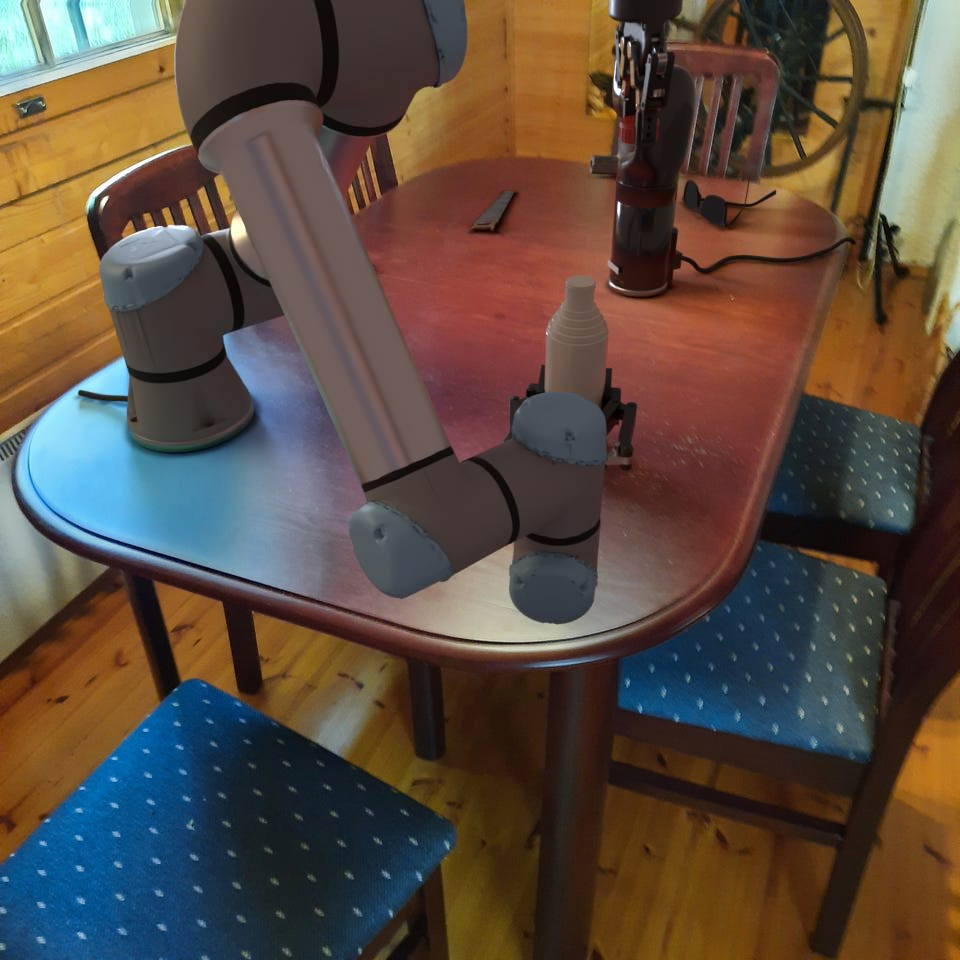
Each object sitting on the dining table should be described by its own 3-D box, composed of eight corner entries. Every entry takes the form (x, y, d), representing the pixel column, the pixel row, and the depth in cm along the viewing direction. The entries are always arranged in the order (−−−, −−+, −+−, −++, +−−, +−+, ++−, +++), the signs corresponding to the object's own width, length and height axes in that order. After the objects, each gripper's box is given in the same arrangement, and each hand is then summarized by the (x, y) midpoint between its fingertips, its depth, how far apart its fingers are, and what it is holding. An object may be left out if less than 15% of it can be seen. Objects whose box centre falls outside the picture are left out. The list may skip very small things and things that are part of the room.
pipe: (587, 172, 186) (589, 134, 181) (645, 169, 187) (649, 131, 182) (593, 181, 181) (595, 142, 176) (652, 178, 182) (656, 139, 177)
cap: (659, 132, 98) (660, 114, 96) (658, 144, 94) (659, 126, 93) (620, 132, 98) (620, 114, 97) (617, 144, 95) (617, 126, 94)
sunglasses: (787, 221, 160) (792, 194, 157) (718, 230, 157) (722, 203, 154) (740, 193, 173) (744, 168, 170) (675, 201, 170) (678, 176, 167)
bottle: (562, 467, 99) (570, 300, 86) (531, 438, 104) (535, 276, 91) (611, 450, 101) (626, 286, 89) (579, 423, 106) (589, 263, 94)
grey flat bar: (493, 190, 178) (493, 187, 178) (515, 191, 177) (515, 188, 177) (468, 231, 159) (468, 228, 159) (493, 232, 158) (493, 229, 158)
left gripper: (465, 514, 88) (494, 398, 106) (661, 528, 85) (656, 407, 104) (462, 454, 83) (493, 344, 102) (669, 467, 81) (663, 352, 99)
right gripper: (593, -42, 91) (590, 126, 102) (631, -23, 80) (623, 163, 91) (661, -48, 92) (651, 119, 102) (708, -30, 81) (692, 155, 91)
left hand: (576, 376), depth 103 cm, fingers closed on bottle, 7 cm apart
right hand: (638, 139), depth 96 cm, fingers closed on cap, 4 cm apart
